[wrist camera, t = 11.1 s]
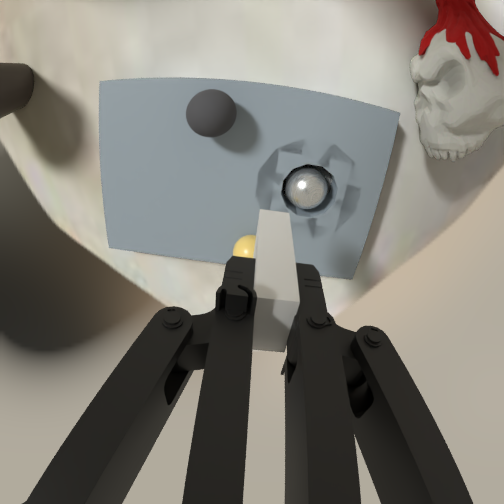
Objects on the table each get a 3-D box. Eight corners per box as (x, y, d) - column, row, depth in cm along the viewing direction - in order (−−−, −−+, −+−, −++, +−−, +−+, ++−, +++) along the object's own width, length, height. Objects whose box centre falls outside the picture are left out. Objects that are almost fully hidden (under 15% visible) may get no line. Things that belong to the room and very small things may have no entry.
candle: (405, 151, 23) (372, -5, 17) (495, 148, 21) (470, 9, 15) (457, 170, 15) (408, -47, 9) (554, 167, 13) (522, -10, 7)
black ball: (191, 131, 21) (178, 139, 18) (194, 87, 20) (181, 88, 17) (236, 135, 21) (230, 144, 19) (241, 90, 20) (236, 91, 17)
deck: (118, 235, 30) (109, 247, 28) (113, 80, 21) (99, 81, 19) (347, 264, 30) (352, 279, 28) (388, 109, 21) (400, 113, 19)
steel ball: (277, 199, 26) (294, 219, 24) (279, 162, 24) (298, 179, 21) (312, 194, 27) (331, 214, 24) (316, 159, 25) (338, 175, 22)
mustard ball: (233, 255, 27) (229, 275, 25) (236, 226, 26) (232, 244, 23) (266, 260, 27) (266, 280, 25) (271, 230, 26) (271, 249, 23)
